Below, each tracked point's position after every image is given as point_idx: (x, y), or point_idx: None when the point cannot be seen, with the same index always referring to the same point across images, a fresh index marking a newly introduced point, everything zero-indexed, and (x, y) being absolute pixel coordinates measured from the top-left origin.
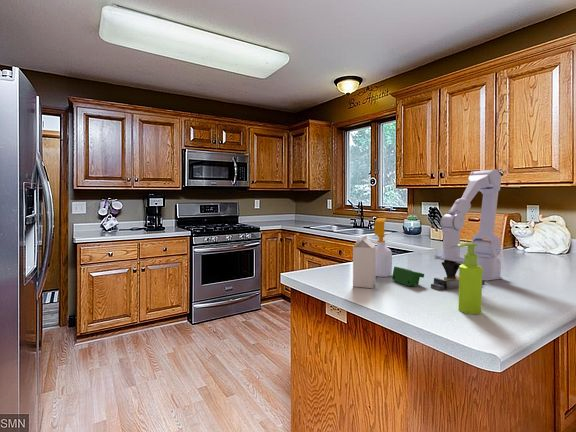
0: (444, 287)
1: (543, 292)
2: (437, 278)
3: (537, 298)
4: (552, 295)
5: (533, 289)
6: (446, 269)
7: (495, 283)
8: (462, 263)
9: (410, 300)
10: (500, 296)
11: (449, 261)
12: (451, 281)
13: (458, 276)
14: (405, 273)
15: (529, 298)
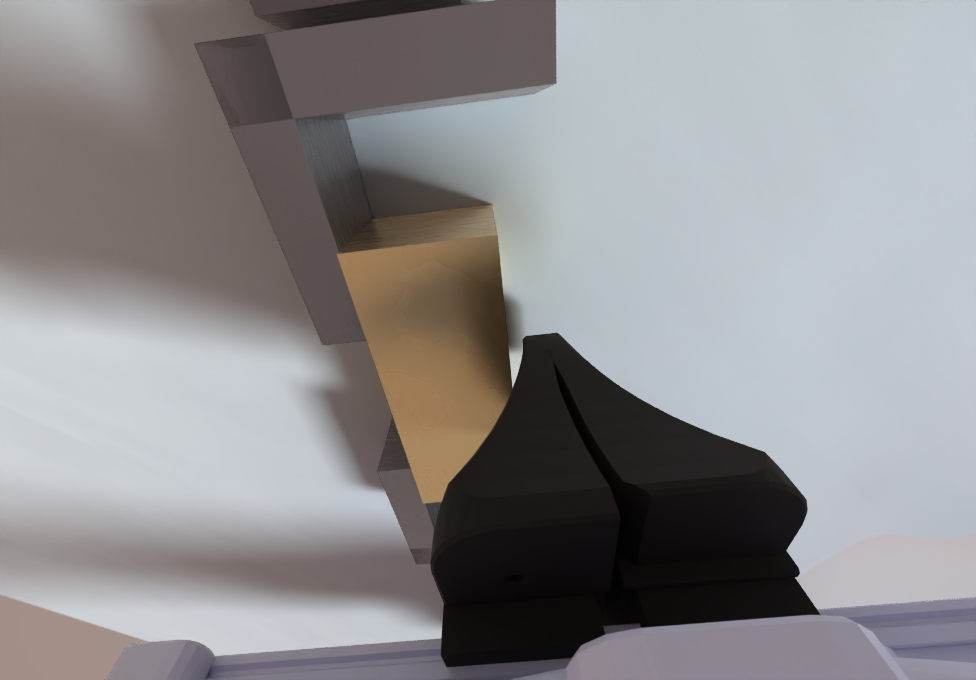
0: (271, 23)
1: (225, 618)
2: (488, 51)
3: (74, 550)
4: (166, 615)
5: (286, 619)
6: (599, 410)
7: None
8: (260, 677)
9: None
10: (65, 419)
11: (641, 623)
12: (258, 185)
13: (477, 439)
14: None
15: (60, 523)
